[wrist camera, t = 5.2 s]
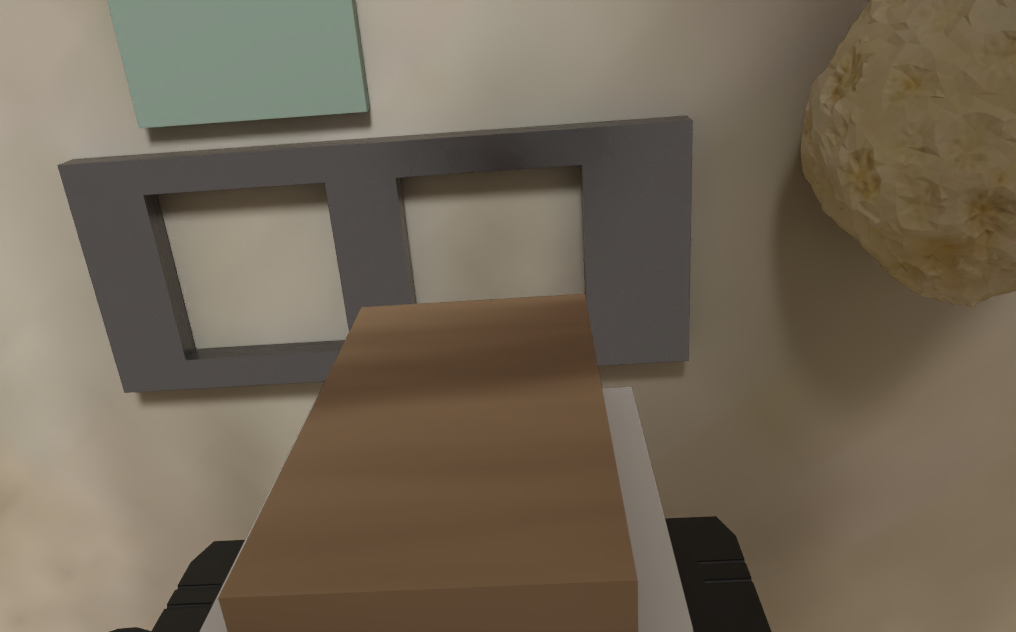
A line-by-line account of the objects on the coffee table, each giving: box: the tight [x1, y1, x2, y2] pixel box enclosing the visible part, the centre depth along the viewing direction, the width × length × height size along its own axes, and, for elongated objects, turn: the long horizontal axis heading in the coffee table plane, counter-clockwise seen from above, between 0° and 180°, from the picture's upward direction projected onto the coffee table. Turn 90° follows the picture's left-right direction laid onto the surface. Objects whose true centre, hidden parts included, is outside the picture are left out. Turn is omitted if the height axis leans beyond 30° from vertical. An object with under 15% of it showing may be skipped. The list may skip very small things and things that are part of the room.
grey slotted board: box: [58, 116, 693, 393], centre depth 29 cm, size 9×22×1 cm, turn 94°
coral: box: [800, 0, 1016, 307], centre depth 23 cm, size 10×10×10 cm
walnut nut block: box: [218, 294, 638, 632], centre depth 14 cm, size 5×5×9 cm
